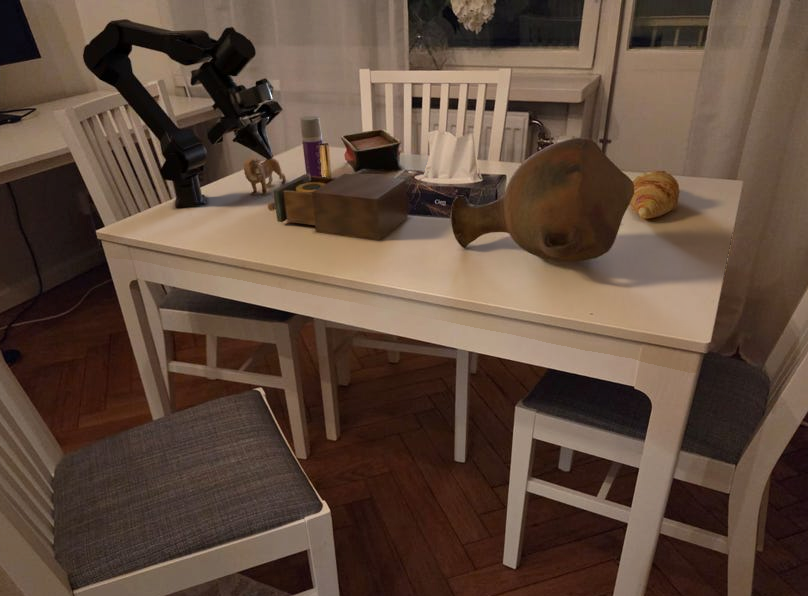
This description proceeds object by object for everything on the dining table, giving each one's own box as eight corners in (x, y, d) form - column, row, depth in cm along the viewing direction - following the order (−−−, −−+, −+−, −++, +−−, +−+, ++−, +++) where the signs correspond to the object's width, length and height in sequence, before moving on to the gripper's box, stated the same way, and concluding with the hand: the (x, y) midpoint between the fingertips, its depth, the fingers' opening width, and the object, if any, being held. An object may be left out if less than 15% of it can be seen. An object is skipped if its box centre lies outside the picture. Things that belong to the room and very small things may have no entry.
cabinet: (316, 231, 124) (311, 192, 120) (347, 210, 134) (344, 173, 130) (378, 240, 119) (376, 199, 115) (407, 218, 129) (406, 179, 124)
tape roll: (297, 207, 132) (294, 184, 129) (327, 204, 133) (324, 180, 131) (300, 217, 127) (297, 193, 124) (332, 213, 128) (329, 189, 125)
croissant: (657, 242, 120) (686, 208, 115) (612, 213, 121) (639, 179, 115) (665, 204, 136) (691, 173, 131) (625, 179, 137) (649, 147, 131)
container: (323, 185, 151) (316, 120, 143) (304, 185, 152) (297, 120, 143) (328, 179, 154) (322, 115, 146) (310, 179, 155) (303, 115, 147)
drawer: (260, 219, 130) (255, 188, 127) (292, 202, 139) (288, 172, 135) (332, 229, 123) (329, 196, 120) (361, 210, 132) (359, 179, 128)
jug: (644, 251, 108) (483, 252, 124) (648, 131, 103) (479, 148, 119) (614, 273, 92) (435, 270, 108) (617, 132, 86) (427, 151, 103)
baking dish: (350, 185, 156) (351, 146, 149) (338, 157, 169) (339, 119, 163) (406, 183, 159) (409, 144, 152) (390, 155, 172) (393, 118, 165)
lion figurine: (263, 200, 143) (257, 160, 138) (243, 199, 145) (236, 159, 140) (290, 181, 155) (285, 143, 150) (271, 180, 156) (265, 143, 152)
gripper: (214, 72, 113) (267, 147, 116) (274, 58, 127) (319, 125, 130) (184, 109, 120) (234, 179, 123) (244, 92, 134) (287, 155, 137)
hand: (271, 158), depth 128 cm, fingers closed
